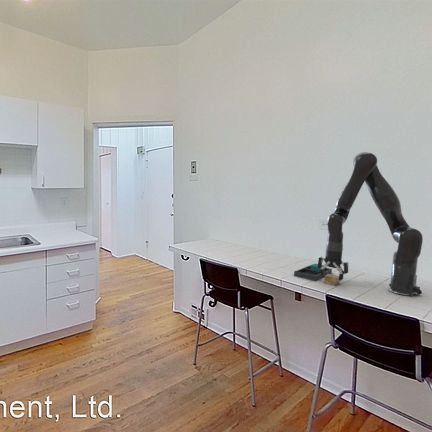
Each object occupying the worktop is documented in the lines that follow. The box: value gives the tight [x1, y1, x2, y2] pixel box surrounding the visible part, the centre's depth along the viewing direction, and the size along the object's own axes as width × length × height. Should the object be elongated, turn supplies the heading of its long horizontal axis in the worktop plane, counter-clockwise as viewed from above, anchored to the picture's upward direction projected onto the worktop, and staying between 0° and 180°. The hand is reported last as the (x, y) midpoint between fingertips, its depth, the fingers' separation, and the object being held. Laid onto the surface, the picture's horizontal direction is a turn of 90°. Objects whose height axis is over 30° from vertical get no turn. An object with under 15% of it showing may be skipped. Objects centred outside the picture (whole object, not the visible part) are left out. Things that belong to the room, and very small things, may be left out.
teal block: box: [309, 263, 325, 272], centre depth 183 cm, size 6×6×4 cm
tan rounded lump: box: [323, 273, 340, 286], centre depth 165 cm, size 6×6×4 cm
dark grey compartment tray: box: [293, 264, 333, 282], centre depth 179 cm, size 12×22×3 cm, turn 127°
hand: (331, 278), depth 165 cm, fingers open, 8 cm apart
